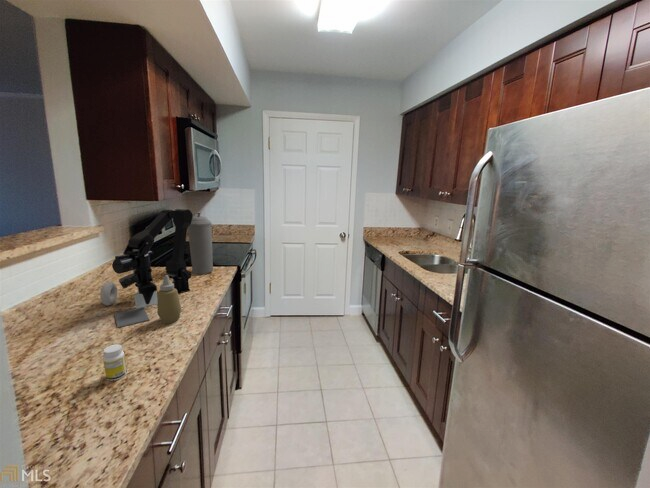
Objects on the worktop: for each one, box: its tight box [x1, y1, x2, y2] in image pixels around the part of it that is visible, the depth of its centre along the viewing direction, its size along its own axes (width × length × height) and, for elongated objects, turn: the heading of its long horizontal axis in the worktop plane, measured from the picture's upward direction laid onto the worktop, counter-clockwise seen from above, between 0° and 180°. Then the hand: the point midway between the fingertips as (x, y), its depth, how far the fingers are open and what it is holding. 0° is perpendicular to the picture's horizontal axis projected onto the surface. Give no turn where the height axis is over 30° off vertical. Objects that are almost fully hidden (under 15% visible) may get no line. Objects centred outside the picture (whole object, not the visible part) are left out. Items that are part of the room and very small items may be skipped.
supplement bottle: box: [102, 343, 128, 382], centre depth 79 cm, size 5×5×8 cm
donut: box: [99, 281, 118, 306], centre depth 124 cm, size 10×4×10 cm, turn 14°
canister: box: [187, 211, 214, 276], centre depth 166 cm, size 13×13×35 cm
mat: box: [113, 307, 150, 329], centre depth 114 cm, size 10×14×1 cm
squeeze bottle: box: [156, 274, 182, 324], centre depth 110 cm, size 8×8×18 cm
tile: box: [133, 290, 158, 309], centre depth 124 cm, size 8×2×6 cm, turn 129°
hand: (146, 302), depth 124 cm, fingers open, 5 cm apart
